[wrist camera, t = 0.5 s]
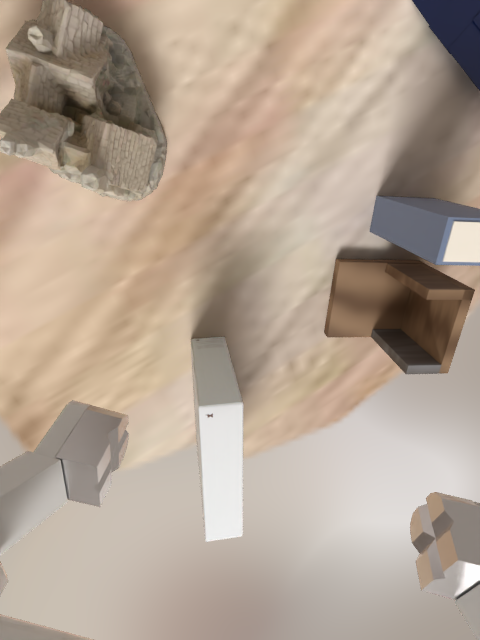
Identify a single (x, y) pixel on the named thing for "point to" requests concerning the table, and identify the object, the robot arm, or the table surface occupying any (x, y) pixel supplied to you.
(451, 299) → the shelf
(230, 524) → the skincare box
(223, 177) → the table surface
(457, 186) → the table surface
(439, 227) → the tall blue pillar
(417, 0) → the navy flat slab
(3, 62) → the table surface
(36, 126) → the grey rock
